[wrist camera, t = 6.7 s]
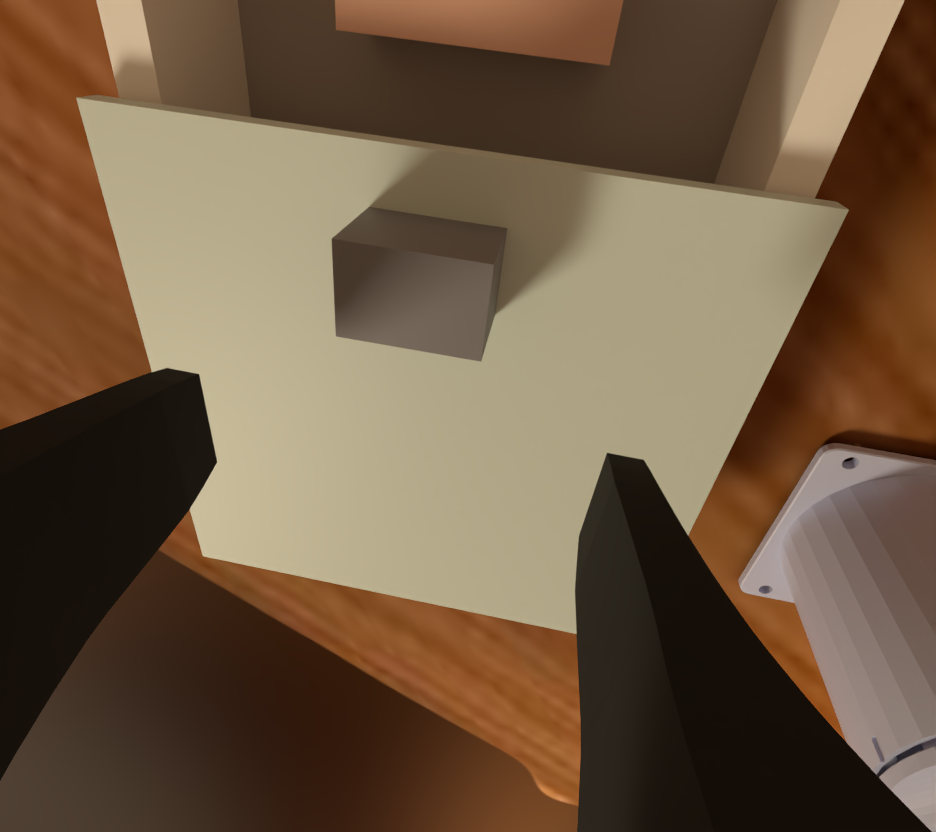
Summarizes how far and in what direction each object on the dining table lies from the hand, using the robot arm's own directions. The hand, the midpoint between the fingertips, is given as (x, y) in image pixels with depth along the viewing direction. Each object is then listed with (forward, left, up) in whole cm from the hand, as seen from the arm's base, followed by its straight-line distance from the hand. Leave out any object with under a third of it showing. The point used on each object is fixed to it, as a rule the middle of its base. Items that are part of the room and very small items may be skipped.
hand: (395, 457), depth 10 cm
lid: (0, +3, -5) cm, 6 cm away
